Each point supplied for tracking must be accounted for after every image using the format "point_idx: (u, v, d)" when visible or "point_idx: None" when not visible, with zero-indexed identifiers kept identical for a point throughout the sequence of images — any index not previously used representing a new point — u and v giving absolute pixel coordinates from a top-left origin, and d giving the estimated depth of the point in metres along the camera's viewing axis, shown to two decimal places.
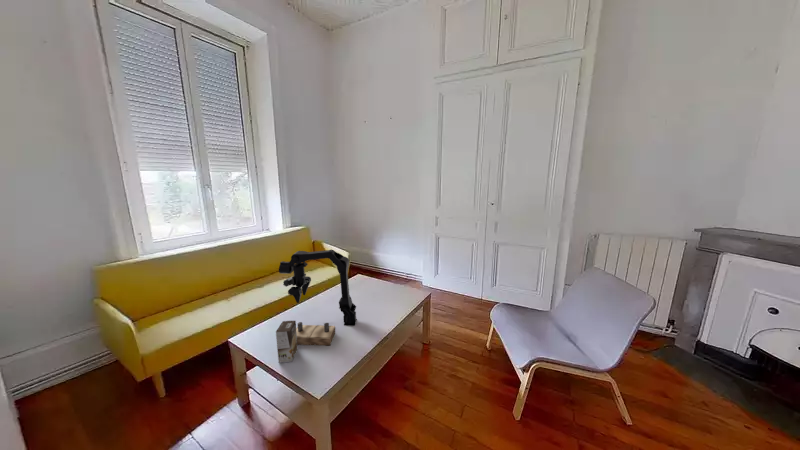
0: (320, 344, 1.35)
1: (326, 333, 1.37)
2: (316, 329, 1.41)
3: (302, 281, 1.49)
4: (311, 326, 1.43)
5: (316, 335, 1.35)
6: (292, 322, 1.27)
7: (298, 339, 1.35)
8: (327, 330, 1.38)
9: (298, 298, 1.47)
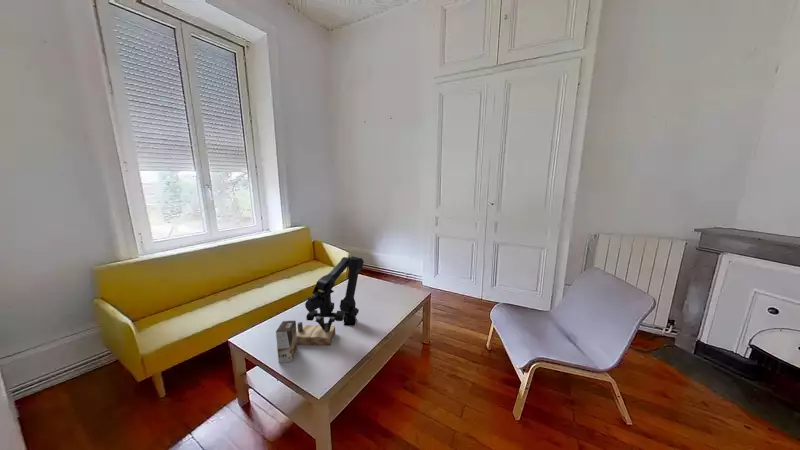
0: (320, 344, 1.35)
1: (326, 333, 1.37)
2: (316, 329, 1.41)
3: (321, 312, 1.34)
4: (311, 326, 1.43)
5: (316, 335, 1.35)
6: (292, 322, 1.27)
7: (298, 339, 1.35)
8: (327, 330, 1.38)
9: None
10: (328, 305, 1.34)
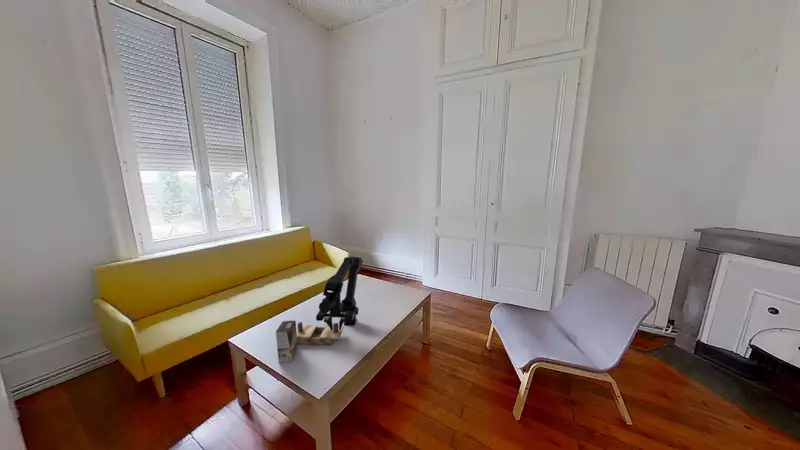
0: (320, 344, 1.35)
1: (336, 333, 1.37)
2: (325, 329, 1.40)
3: (330, 312, 1.34)
4: (311, 326, 1.43)
5: (325, 335, 1.35)
6: (292, 322, 1.27)
7: (298, 339, 1.35)
8: (336, 330, 1.38)
9: None
10: (338, 305, 1.34)
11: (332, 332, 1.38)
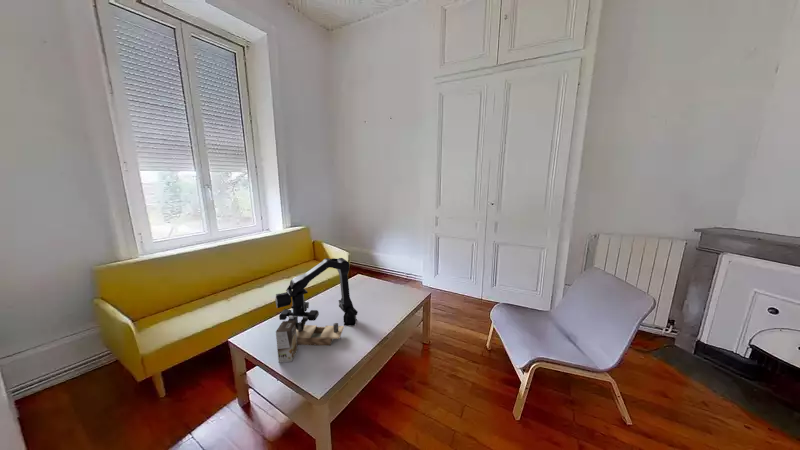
0: (320, 344, 1.35)
1: (336, 333, 1.37)
2: (325, 329, 1.40)
3: (293, 311, 1.35)
4: (311, 326, 1.43)
5: (325, 335, 1.35)
6: (292, 322, 1.27)
7: (298, 339, 1.35)
8: (336, 330, 1.38)
9: None
10: (301, 304, 1.34)
11: (332, 332, 1.38)
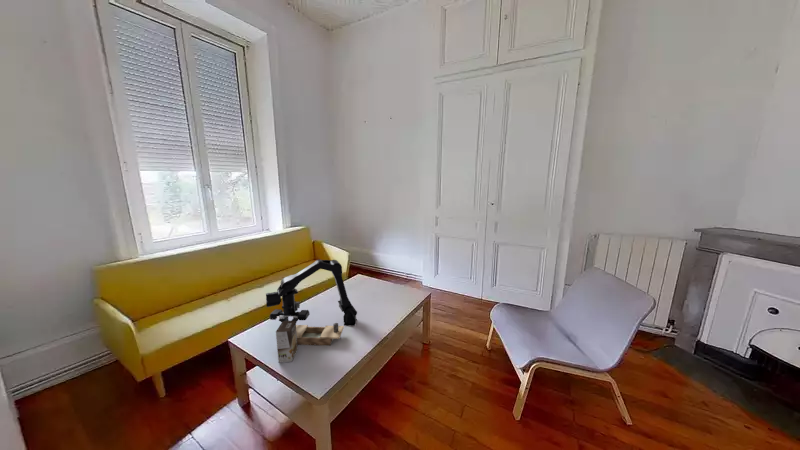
0: (320, 344, 1.35)
1: (336, 333, 1.37)
2: (325, 329, 1.40)
3: (284, 311, 1.35)
4: (302, 326, 1.43)
5: (325, 335, 1.35)
6: (292, 322, 1.27)
7: (298, 339, 1.35)
8: (336, 330, 1.38)
9: None
10: (291, 304, 1.34)
11: (332, 332, 1.38)
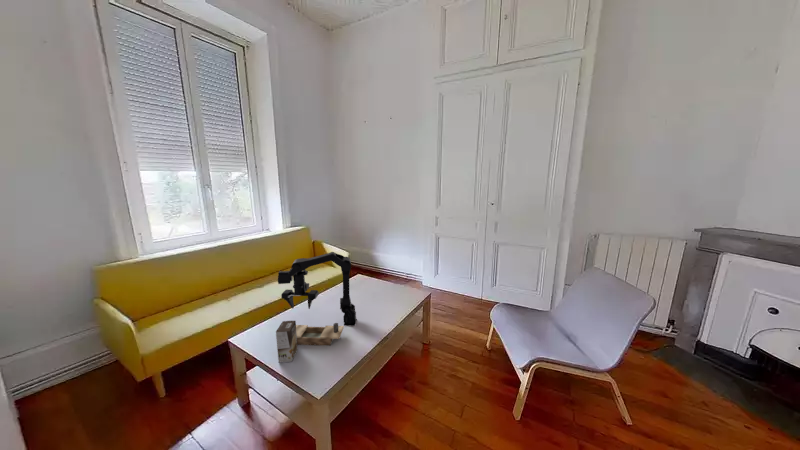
0: (320, 344, 1.35)
1: (336, 333, 1.37)
2: (325, 329, 1.40)
3: (295, 290, 1.43)
4: (302, 326, 1.43)
5: (325, 335, 1.35)
6: (292, 322, 1.27)
7: (298, 339, 1.35)
8: (336, 330, 1.38)
9: None
10: (301, 284, 1.43)
11: (332, 332, 1.38)
